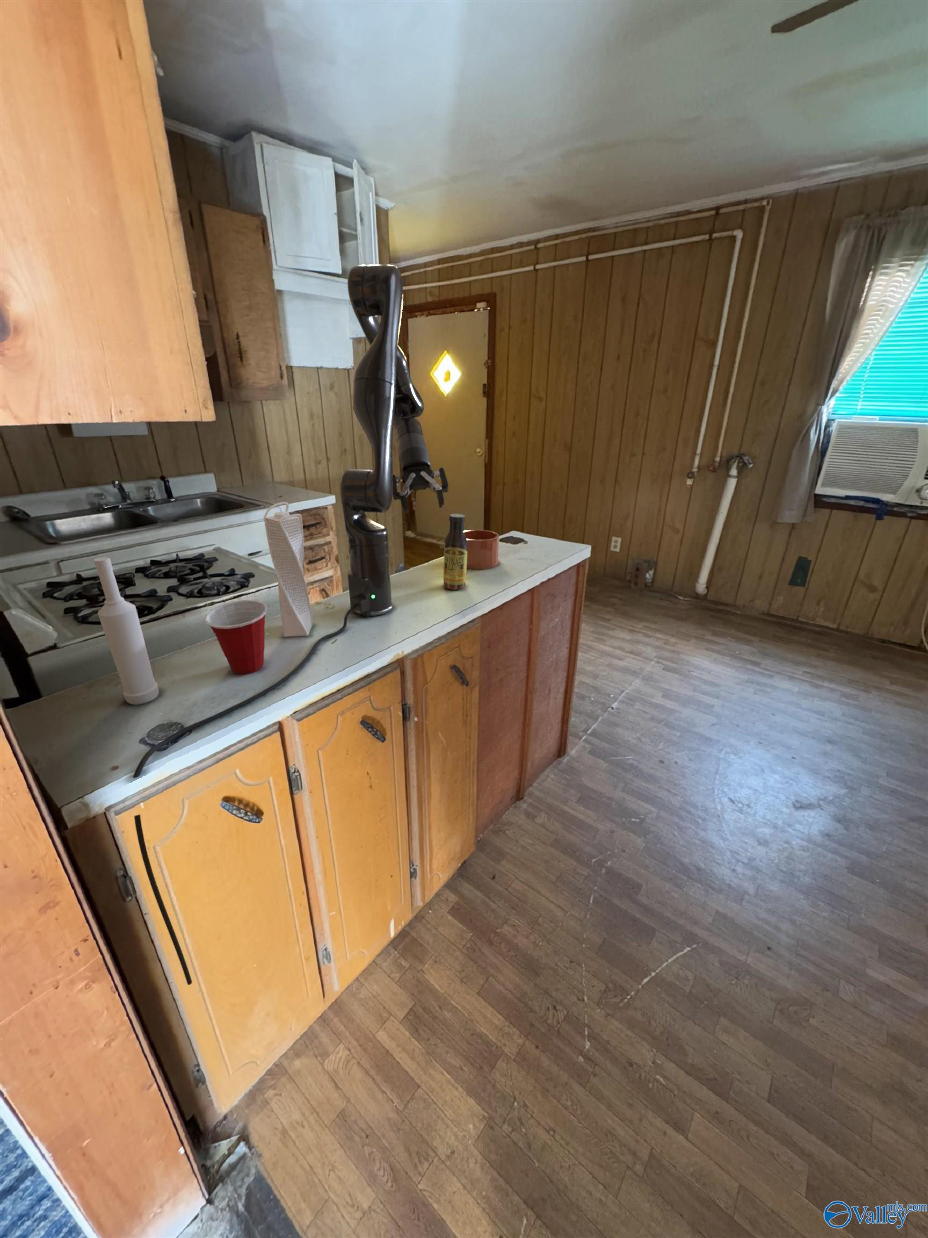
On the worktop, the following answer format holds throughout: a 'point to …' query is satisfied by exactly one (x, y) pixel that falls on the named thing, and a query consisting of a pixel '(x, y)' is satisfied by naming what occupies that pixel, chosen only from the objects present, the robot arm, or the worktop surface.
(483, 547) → the crock
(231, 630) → the plastic cup
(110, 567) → the bottle
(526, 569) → the worktop surface
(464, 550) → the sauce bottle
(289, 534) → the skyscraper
